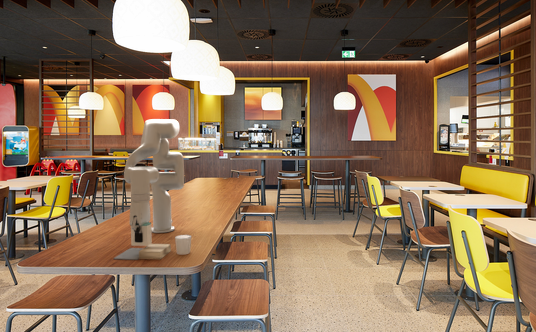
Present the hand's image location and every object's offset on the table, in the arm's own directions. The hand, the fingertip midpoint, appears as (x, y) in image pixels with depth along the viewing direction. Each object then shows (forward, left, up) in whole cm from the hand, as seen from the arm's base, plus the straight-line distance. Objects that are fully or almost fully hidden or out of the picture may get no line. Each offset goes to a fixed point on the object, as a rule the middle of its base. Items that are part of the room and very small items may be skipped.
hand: (141, 240), depth 142 cm
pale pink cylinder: (-4, +17, -6) cm, 18 cm away
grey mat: (0, -4, -6) cm, 7 cm away
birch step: (0, +6, -6) cm, 9 cm away
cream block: (0, 0, -2) cm, 2 cm away
